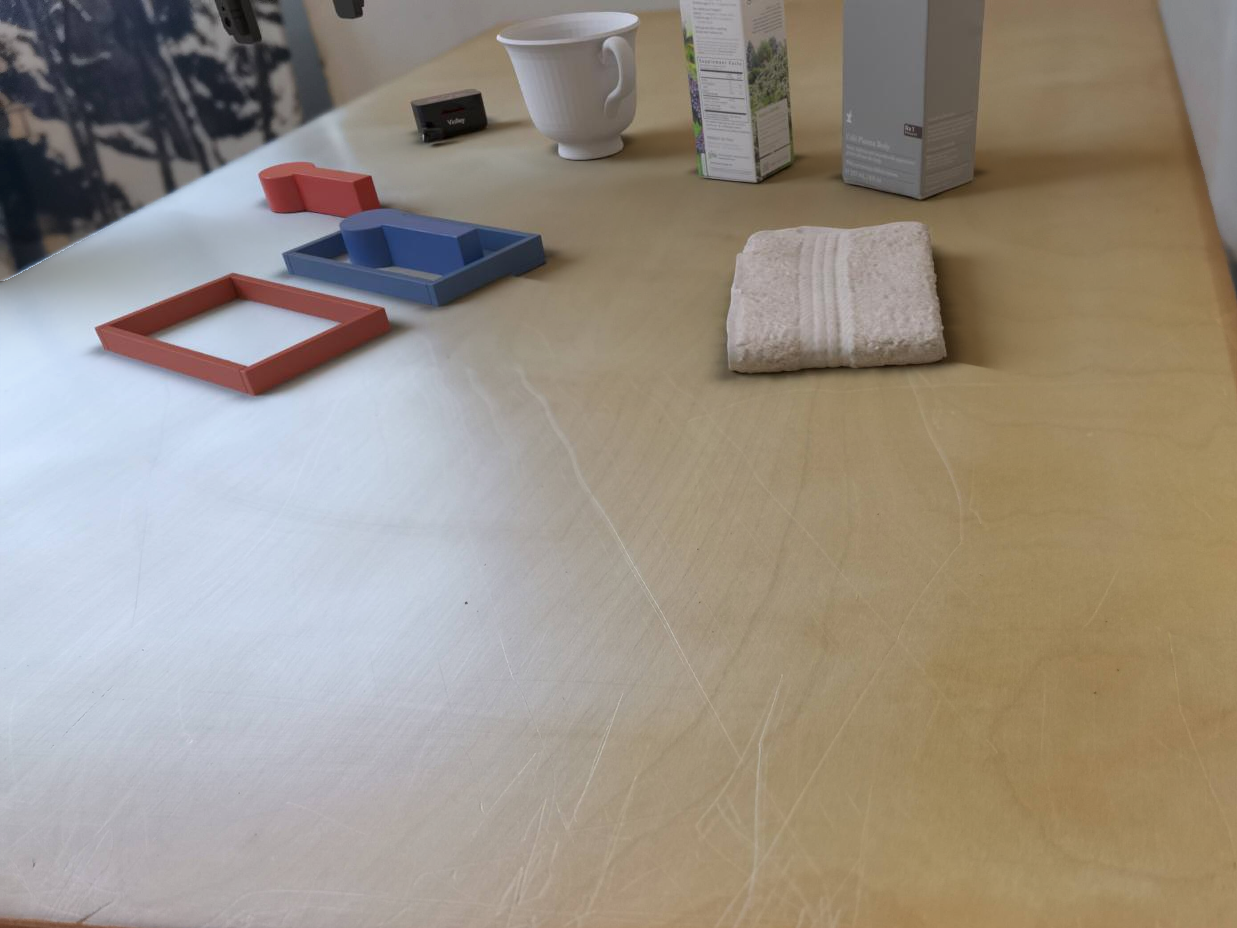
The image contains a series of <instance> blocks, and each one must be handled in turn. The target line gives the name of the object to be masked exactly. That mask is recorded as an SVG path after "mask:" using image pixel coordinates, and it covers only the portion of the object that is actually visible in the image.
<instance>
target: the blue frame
mask: <svg viewBox="0 0 1237 928" xmlns="http://www.w3.org/2000/svg"><path fill="white" fill-rule="evenodd" d="M403 212H404V214H405V216H407V217H413V218H418V219H424V220H430V221H436V222H442V223H448V224H454V225H460V226H466V227H472V228H477V230H478V234H479V238H480V242H481V246H482V250H483V254H484V257H483V258H481V259H479V260H477V261H475V262H473V263H470V264H468V265H466V266H464V267H462V268H460V269H457V270H455V271H453V272H451V273H449V274H447V275H444V276H442V275H441V276H440V277H438V278H436V279H434V280H431V279H429V278H428V279H427V278H422V277H417V276H413V275H409V274H404V273H400V272H399V273H398V272H393V271H390V270H389V271H388V270H384V269H380V268H377V269H375V268H370V267H365V266H360V265H355V264H351V262H345V261H341V260H335V259H336V258H337V257H340V256H343V255H344V254H348V252H347V249H346V245H345V242H344V239H343V236H342V233H341V230H340V229H339V230H337V231H335V232H332V233H330V234H327V235H324V236H322V237H320V238H317V239H315V240H312V241H309V242H307V243H304V244H301V245H299V246H297V247H294V248H291V249H289V250H286V251H284V252H282V253H281V256H282V258H283V260H284V264H285V267H286V270H287V272H288V274H289V275H293V276H298V277H302V278H307V279H312V280H316V281H320V282H325V283H329V284H334V285H338V286H343V287H347V288H352V289H356V290H362V291H366V292H371V293H375V294H379V295H383V296H388V297H393V298H397V299H402V300H407V301H411V302H416V303H420V304H424V305H428V306H433V307H438V308H439V307H442V306H444V305H446V304H448V303H449V302H452V301H454V300H456V299H458V298H461V297H462V296H464V295H466V294H468V293H470V292H472V291H474V290H477V289H479V288H481V287H484V286H485V285H487V284H489V283H491V282H493V281H495V280H498V279H499V278H502V277H504V276H505V275H506V276H512V277H519V276H521V275H522V274H525V273H527V272H529V271H531V270H533V269H536V268H537V267H539V266H541V265H543V264H545V263H547V258H546V253H545V247H544V243H543V238H542V235H541V234H540V233H539V234H538V233H532V232H527V231H520V230H515V229H507V228H502V227H495V226H490V225H485V224H484V225H483V224H479V223H472V222H466V221H461V220H455V219H450V218H443V217H437V216H431V215H425V214H419V213H413V212H408V211H403Z"/></svg>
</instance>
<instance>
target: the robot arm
mask: <svg viewBox="0 0 1237 928" xmlns="http://www.w3.org/2000/svg"><path fill="white" fill-rule="evenodd" d="M214 4H215V6H216V9H217V12H218V15H219V18H220V21H221V24H222V26H223V29H224V30H225V32H226V33H227V34H228V36H231V37H233V39H234V40H235V42H236V43H238V44H239V45H249V46H250V45H255V44H259V43H261V42H262V39H263V38H262V34H261V30H260V28H259V24H258V21H257V18H256V15H255V12H254V9H253V6H252V3H251V0H214ZM332 4H333V6H334V7H333V8H334V10H335V13H336V15H337V17H339V18H340V19H346V20H355V19H359V18H362V17H363V15H364V11H363V8H364V7H365V0H332Z"/></svg>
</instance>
